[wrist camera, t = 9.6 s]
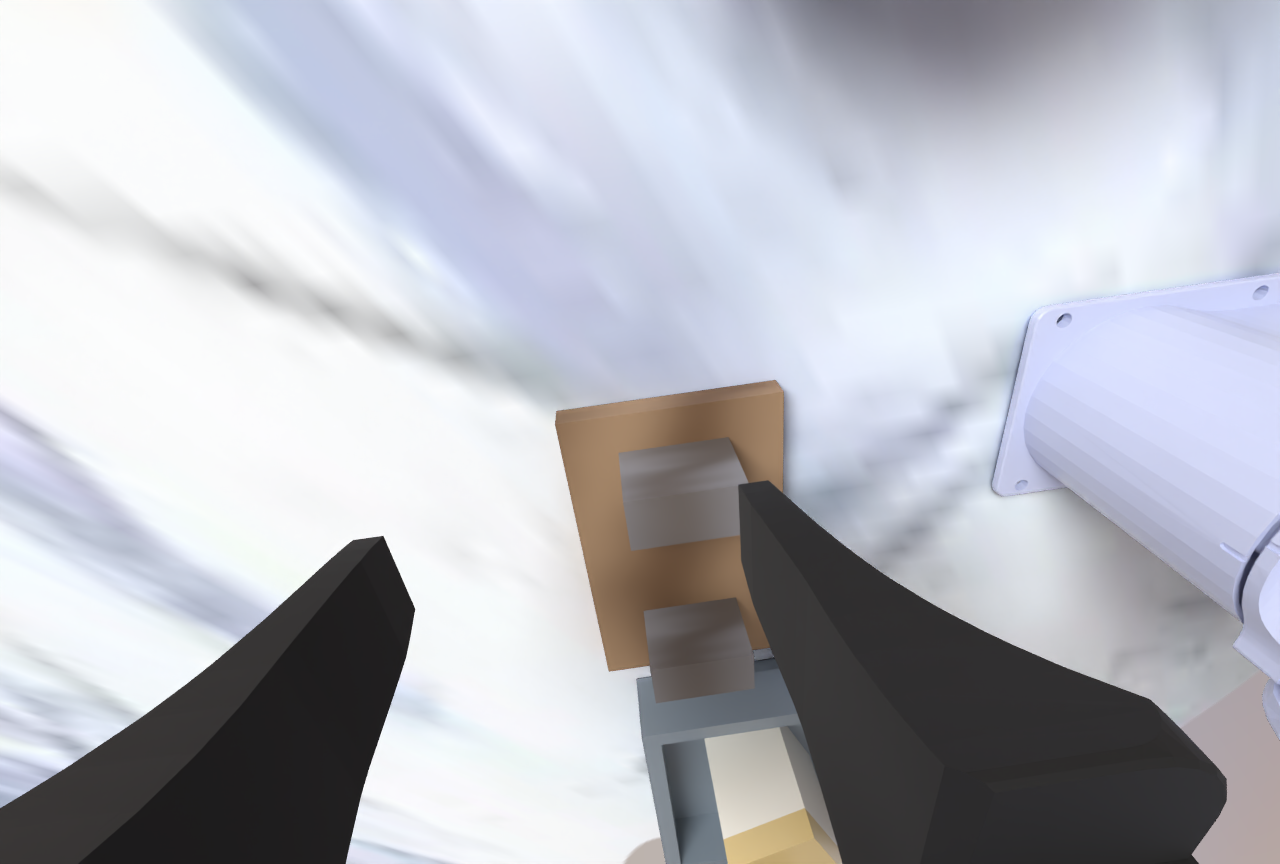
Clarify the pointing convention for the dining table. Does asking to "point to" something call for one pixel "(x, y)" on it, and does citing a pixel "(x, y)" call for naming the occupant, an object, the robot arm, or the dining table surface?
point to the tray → (703, 756)
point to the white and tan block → (769, 800)
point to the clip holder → (673, 529)
